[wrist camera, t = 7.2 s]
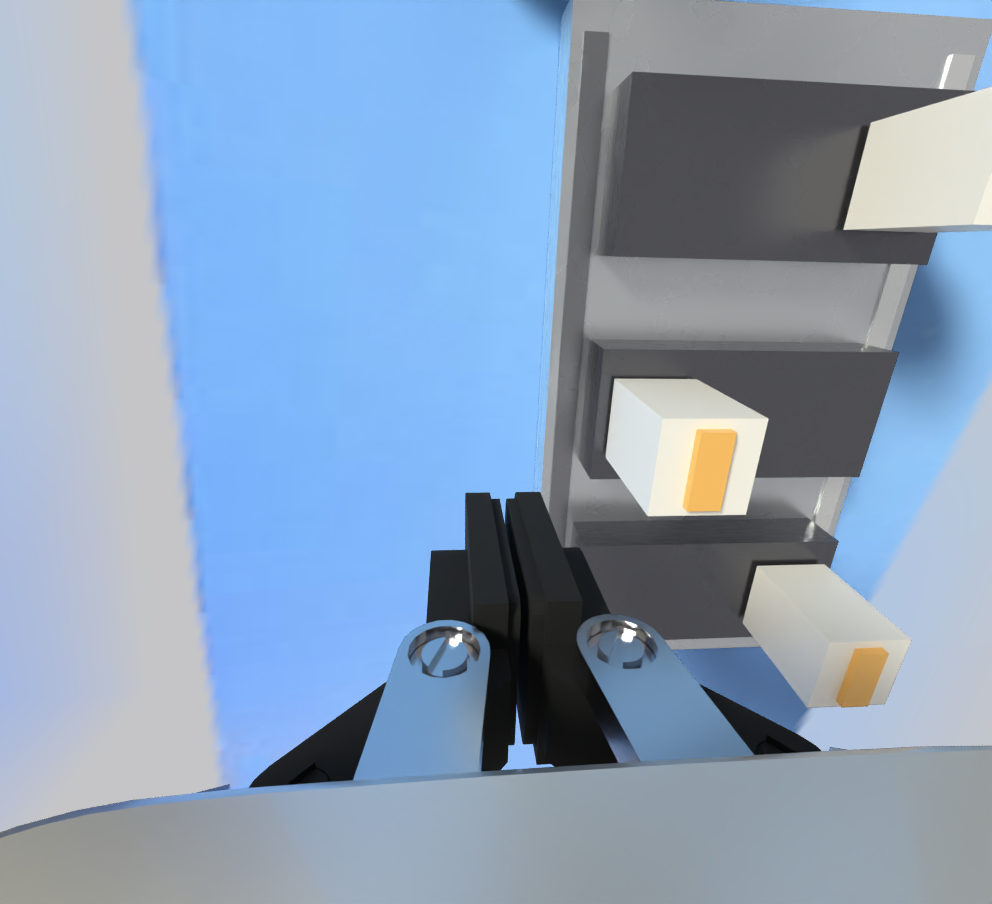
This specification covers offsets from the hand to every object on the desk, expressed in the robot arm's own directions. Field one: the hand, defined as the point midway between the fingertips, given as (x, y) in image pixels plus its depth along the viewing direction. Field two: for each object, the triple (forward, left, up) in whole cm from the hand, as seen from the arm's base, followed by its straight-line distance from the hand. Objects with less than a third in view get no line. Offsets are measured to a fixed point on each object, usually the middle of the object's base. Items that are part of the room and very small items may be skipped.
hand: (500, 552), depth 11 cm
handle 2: (-9, +13, -8) cm, 18 cm away
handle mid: (-1, +6, -8) cm, 10 cm away
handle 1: (+7, +13, -7) cm, 17 cm away
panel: (-1, +10, -12) cm, 15 cm away
